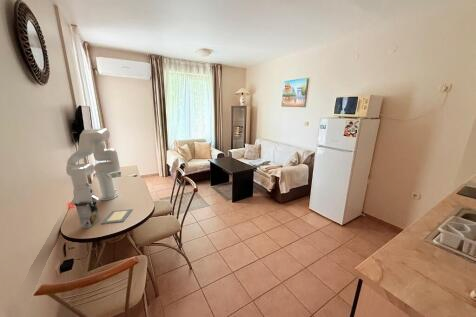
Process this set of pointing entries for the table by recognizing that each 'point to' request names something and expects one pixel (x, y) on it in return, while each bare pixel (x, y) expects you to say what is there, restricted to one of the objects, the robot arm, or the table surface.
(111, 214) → the mat
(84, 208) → the coffee box
